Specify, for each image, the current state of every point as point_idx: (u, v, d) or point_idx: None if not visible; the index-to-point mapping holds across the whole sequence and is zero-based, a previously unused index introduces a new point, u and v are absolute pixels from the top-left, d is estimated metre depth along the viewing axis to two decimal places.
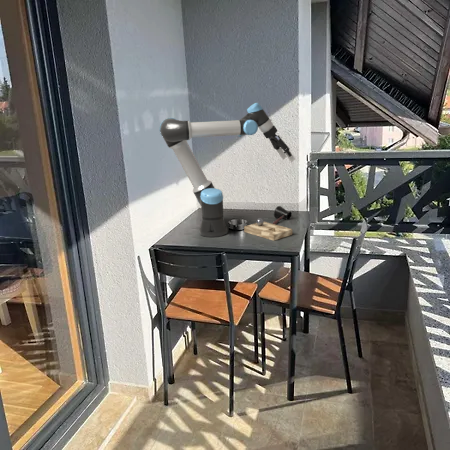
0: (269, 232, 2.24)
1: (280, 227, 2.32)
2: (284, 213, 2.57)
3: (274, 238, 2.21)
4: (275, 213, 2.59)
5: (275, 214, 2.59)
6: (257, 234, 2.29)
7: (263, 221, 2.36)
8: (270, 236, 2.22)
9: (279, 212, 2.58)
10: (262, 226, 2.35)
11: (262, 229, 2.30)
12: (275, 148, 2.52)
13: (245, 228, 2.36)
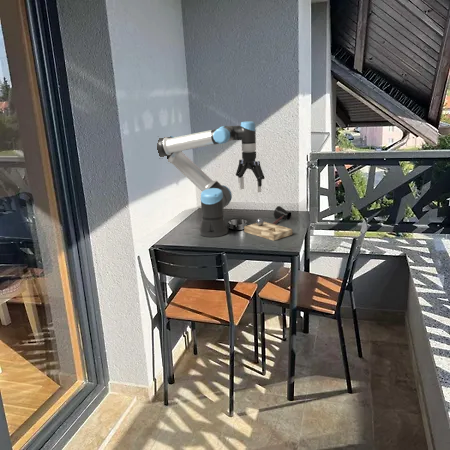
0: (269, 232, 2.24)
1: (280, 227, 2.32)
2: (284, 213, 2.56)
3: (274, 238, 2.21)
4: (275, 213, 2.58)
5: (275, 214, 2.59)
6: (257, 234, 2.29)
7: (263, 221, 2.36)
8: (270, 236, 2.22)
9: (279, 212, 2.57)
10: (262, 226, 2.35)
11: (262, 229, 2.30)
12: (238, 175, 2.41)
13: (245, 228, 2.36)
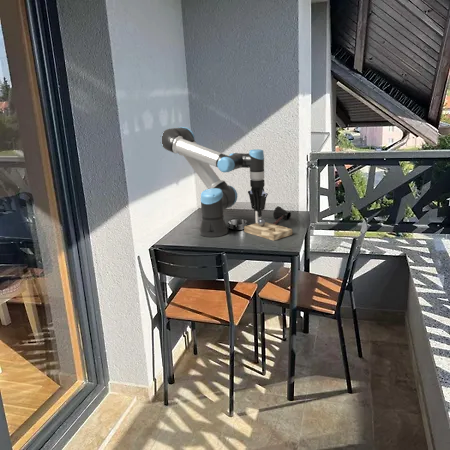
0: (269, 232, 2.24)
1: (280, 227, 2.32)
2: (284, 213, 2.56)
3: (274, 238, 2.21)
4: (274, 213, 2.58)
5: (274, 214, 2.58)
6: (257, 234, 2.29)
7: None
8: (270, 236, 2.22)
9: (278, 212, 2.57)
10: (262, 226, 2.35)
11: (262, 229, 2.30)
12: (254, 208, 2.36)
13: (245, 228, 2.36)
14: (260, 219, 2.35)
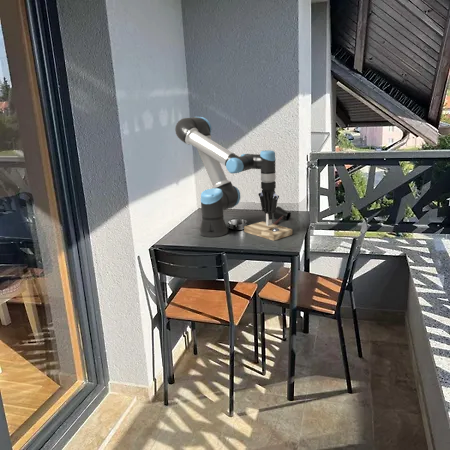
0: (269, 232, 2.24)
1: (280, 227, 2.32)
2: (283, 214, 2.55)
3: (274, 238, 2.21)
4: (274, 214, 2.57)
5: (274, 215, 2.58)
6: (257, 234, 2.29)
7: None
8: (270, 236, 2.22)
9: (278, 213, 2.56)
10: (262, 226, 2.35)
11: (262, 229, 2.30)
12: (265, 210, 2.30)
13: (245, 228, 2.36)
14: None
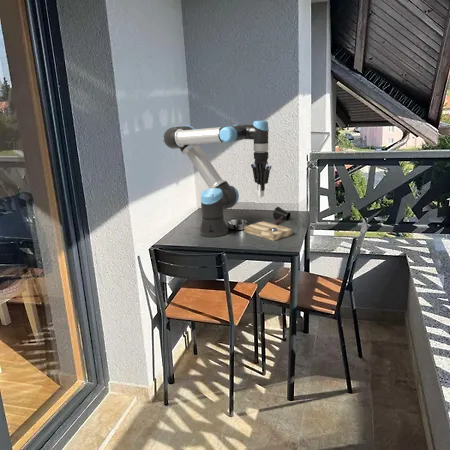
0: (269, 232, 2.24)
1: (280, 227, 2.32)
2: (283, 214, 2.55)
3: (274, 238, 2.21)
4: (274, 214, 2.57)
5: (274, 215, 2.57)
6: (257, 234, 2.29)
7: None
8: (270, 236, 2.22)
9: (278, 213, 2.56)
10: (262, 226, 2.35)
11: (262, 229, 2.30)
12: (257, 181, 2.29)
13: (245, 228, 2.36)
14: None
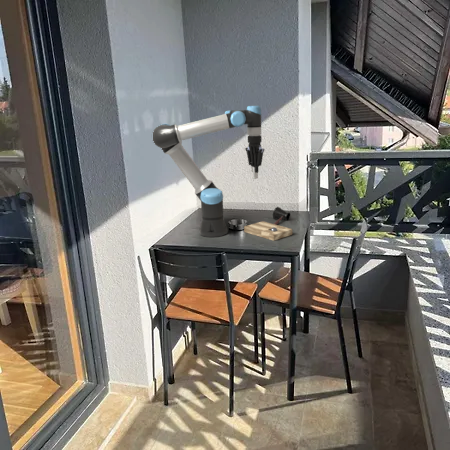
0: (269, 232, 2.24)
1: (280, 227, 2.32)
2: (283, 214, 2.55)
3: (274, 238, 2.21)
4: (274, 214, 2.56)
5: (274, 215, 2.57)
6: (257, 234, 2.29)
7: (276, 228, 2.29)
8: (270, 236, 2.22)
9: (278, 213, 2.55)
10: (262, 226, 2.35)
11: (262, 229, 2.30)
12: (251, 164, 2.42)
13: (245, 228, 2.36)
14: (270, 229, 2.30)
